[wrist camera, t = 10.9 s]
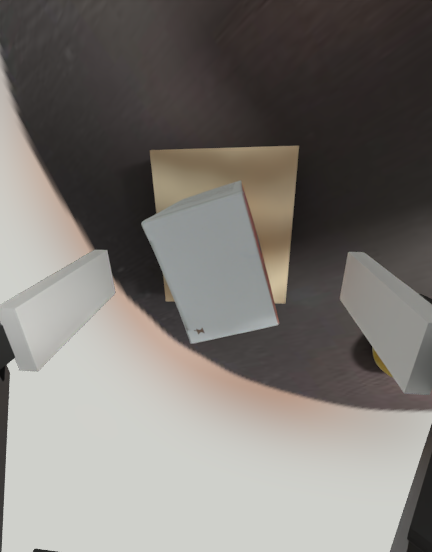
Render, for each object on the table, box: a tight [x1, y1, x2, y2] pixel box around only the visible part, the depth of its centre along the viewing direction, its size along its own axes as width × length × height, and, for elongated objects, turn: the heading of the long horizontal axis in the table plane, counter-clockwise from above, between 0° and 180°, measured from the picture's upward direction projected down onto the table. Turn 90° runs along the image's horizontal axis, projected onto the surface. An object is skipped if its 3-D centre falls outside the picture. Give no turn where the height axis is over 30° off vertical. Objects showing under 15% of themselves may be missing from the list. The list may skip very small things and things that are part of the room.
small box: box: [141, 181, 279, 344], centre depth 19 cm, size 8×6×10 cm
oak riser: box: [150, 146, 299, 303], centre depth 26 cm, size 14×12×4 cm
